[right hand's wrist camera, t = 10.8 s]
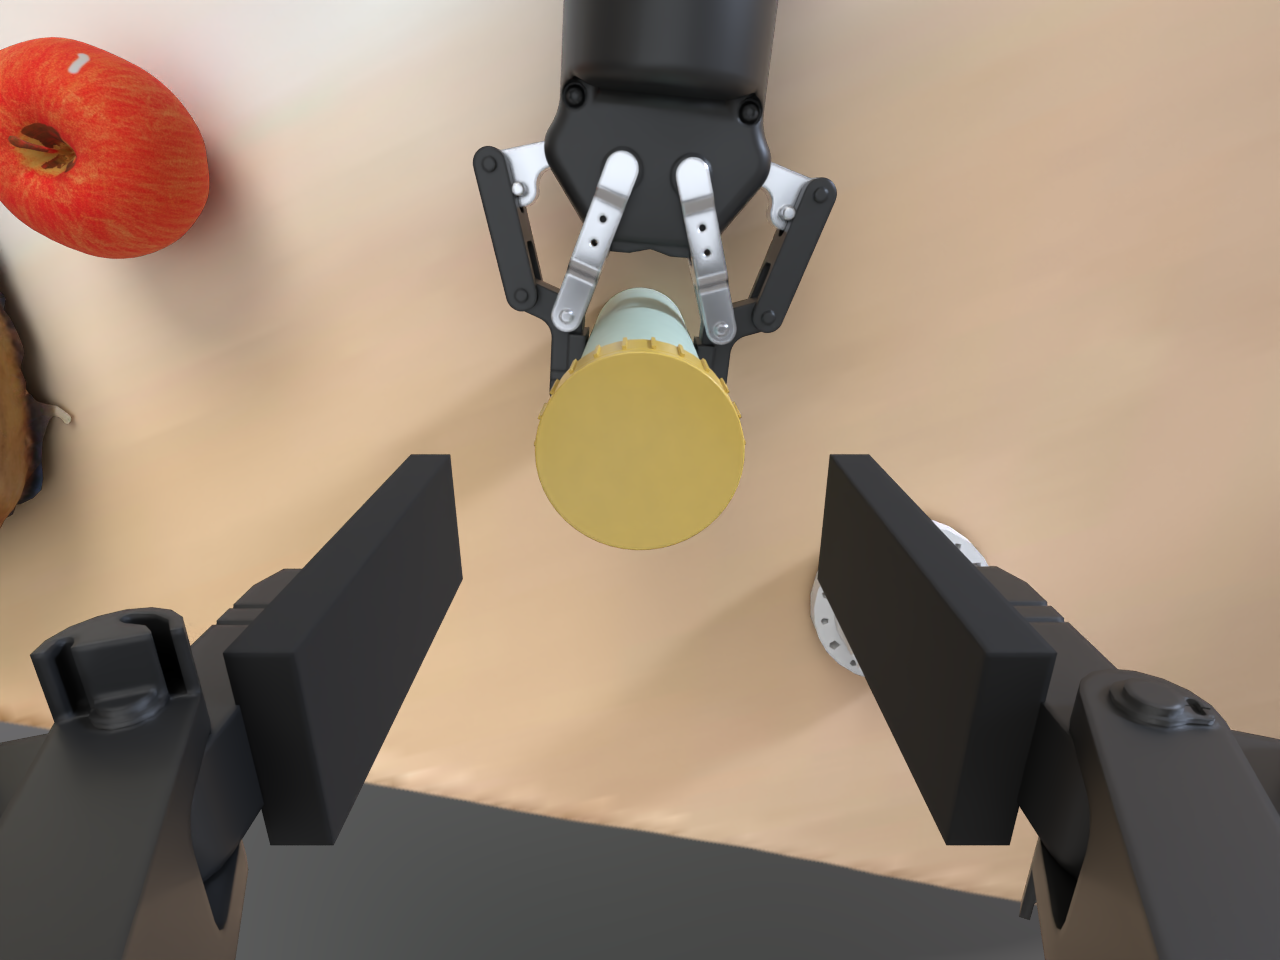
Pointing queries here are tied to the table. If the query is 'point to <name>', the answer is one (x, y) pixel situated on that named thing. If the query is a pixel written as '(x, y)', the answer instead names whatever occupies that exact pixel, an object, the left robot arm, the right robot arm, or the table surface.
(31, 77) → the apple
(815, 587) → the mechanical component
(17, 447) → the bread
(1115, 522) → the table surface
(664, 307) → the jar
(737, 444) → the lid
